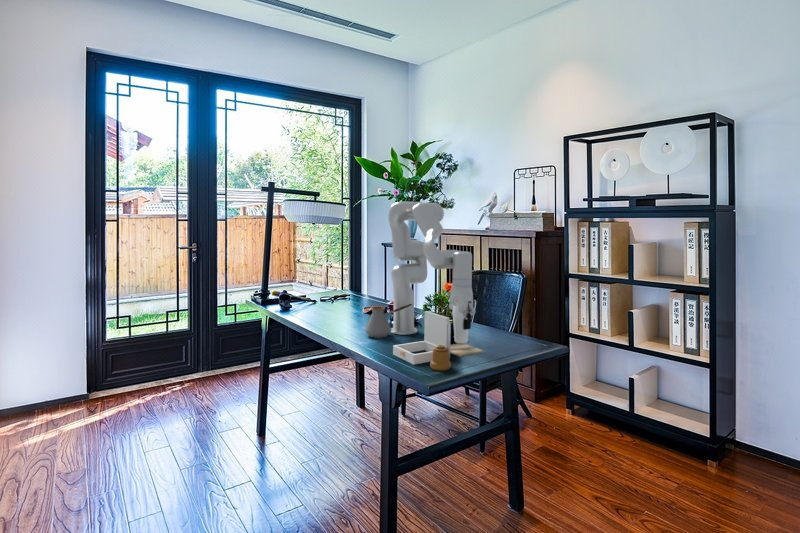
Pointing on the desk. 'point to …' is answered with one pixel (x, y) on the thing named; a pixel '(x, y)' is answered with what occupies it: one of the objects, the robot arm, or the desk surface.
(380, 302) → the desk surface
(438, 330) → the open case
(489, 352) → the desk surface
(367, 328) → the coffee pot
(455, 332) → the drinking glass
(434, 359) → the ornamental finial
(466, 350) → the wooden pad
